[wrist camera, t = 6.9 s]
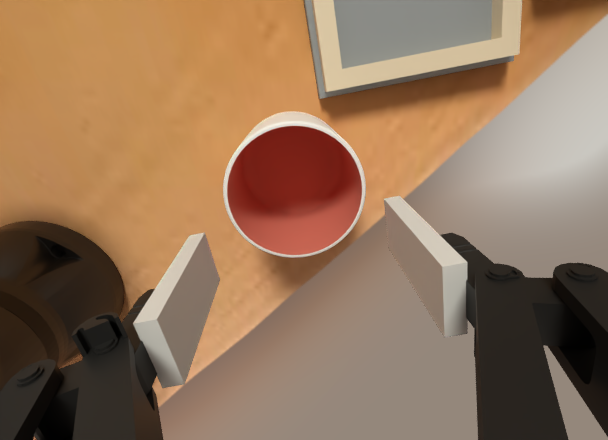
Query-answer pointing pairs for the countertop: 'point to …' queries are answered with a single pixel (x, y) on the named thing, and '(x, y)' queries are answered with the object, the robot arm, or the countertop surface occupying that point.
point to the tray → (406, 40)
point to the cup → (294, 186)
